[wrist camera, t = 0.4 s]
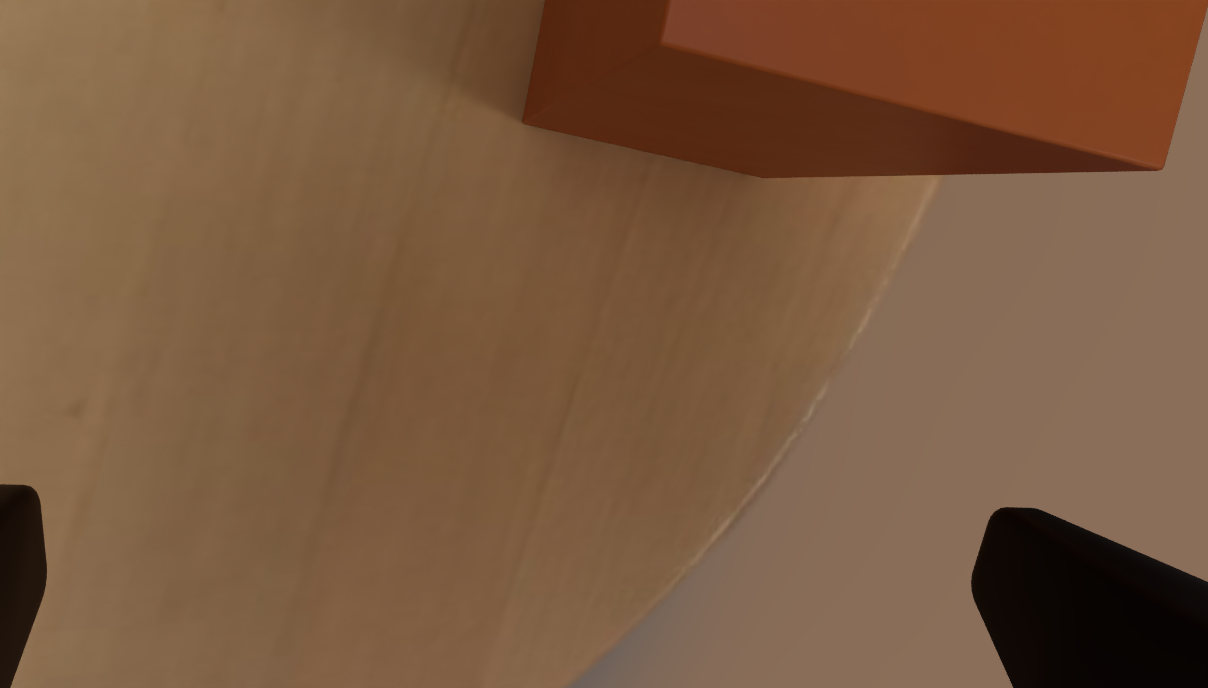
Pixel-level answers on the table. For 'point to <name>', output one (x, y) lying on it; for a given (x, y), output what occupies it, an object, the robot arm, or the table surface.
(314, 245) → the table surface
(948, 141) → the orange block
